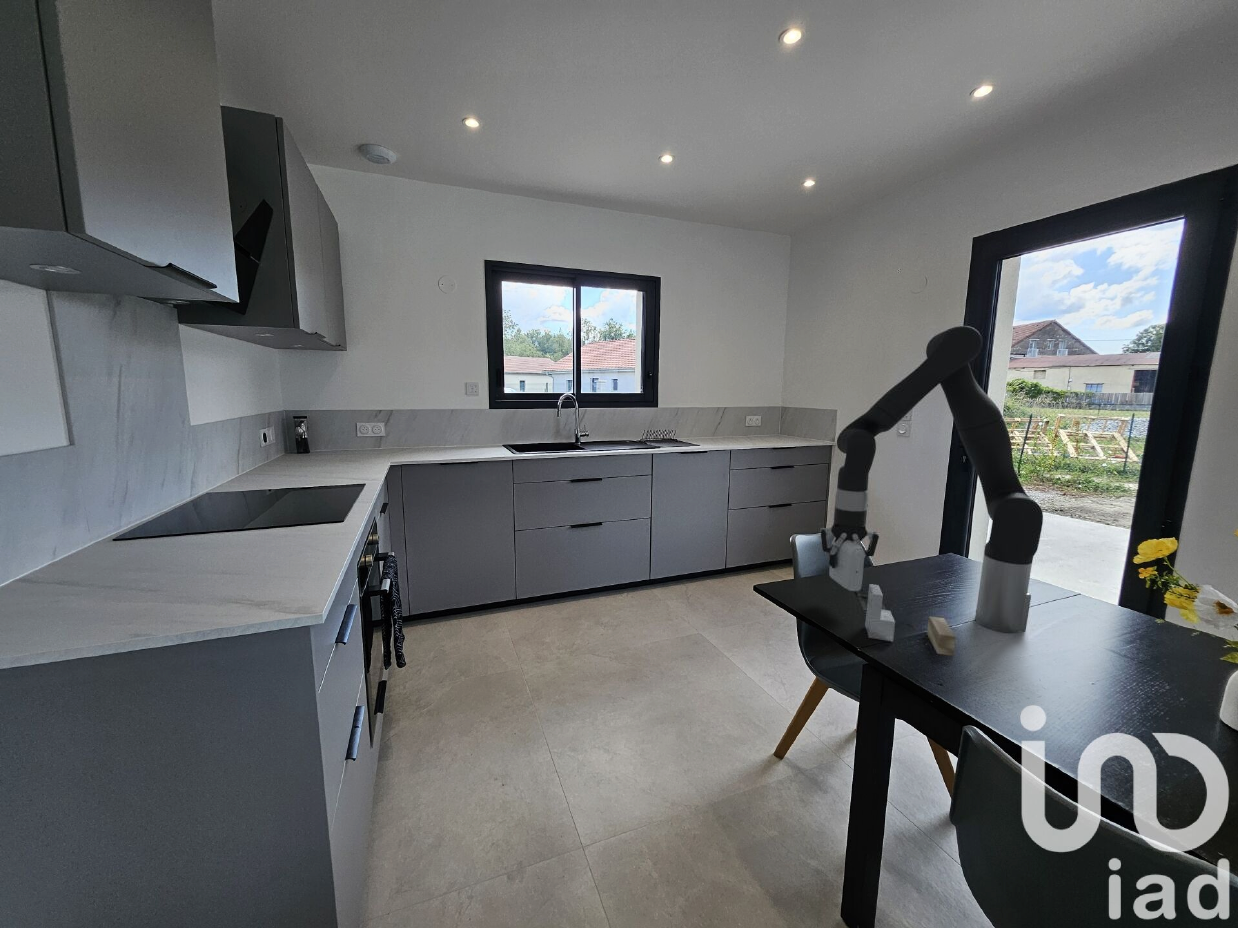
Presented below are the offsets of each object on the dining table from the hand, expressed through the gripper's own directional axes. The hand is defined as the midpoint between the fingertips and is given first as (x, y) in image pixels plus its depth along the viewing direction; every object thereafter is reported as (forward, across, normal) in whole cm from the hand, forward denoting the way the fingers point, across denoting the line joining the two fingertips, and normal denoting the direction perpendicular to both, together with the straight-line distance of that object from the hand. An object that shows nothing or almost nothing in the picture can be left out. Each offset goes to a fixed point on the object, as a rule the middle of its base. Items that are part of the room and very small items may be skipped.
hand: (846, 568), depth 127 cm
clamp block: (+11, -19, +12) cm, 25 cm away
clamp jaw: (+11, -7, +12) cm, 18 cm away
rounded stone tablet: (+4, 0, 0) cm, 4 cm away
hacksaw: (+12, -10, -4) cm, 16 cm away
